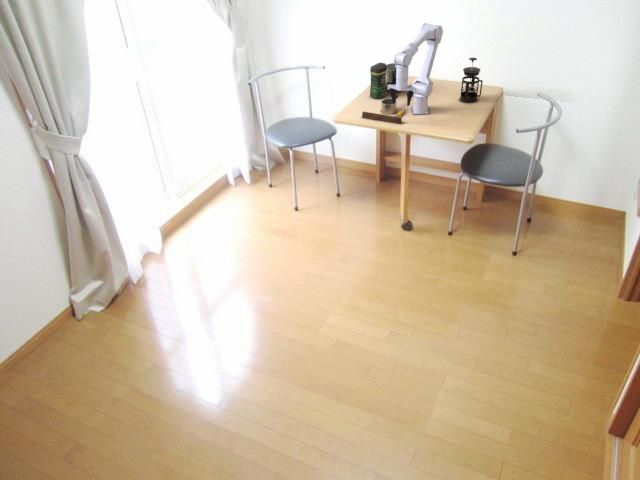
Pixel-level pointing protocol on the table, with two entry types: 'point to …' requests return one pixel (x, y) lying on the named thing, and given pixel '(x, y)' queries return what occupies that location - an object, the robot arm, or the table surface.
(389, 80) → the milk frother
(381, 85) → the coffee jar
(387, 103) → the steel pot
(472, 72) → the french press
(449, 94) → the table surface
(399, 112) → the knife
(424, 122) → the table surface
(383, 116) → the walnut rail
